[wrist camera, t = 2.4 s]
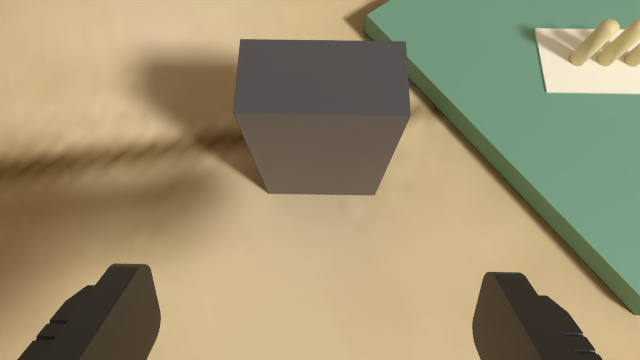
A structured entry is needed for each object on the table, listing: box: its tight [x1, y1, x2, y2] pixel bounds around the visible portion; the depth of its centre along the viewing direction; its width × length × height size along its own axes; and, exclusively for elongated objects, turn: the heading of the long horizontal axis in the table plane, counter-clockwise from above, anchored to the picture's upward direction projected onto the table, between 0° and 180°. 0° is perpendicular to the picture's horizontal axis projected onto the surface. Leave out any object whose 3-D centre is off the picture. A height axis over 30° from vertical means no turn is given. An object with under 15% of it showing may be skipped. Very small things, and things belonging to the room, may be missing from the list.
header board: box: [364, 0, 640, 315], centre depth 23 cm, size 22×18×4 cm
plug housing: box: [233, 39, 411, 195], centre depth 18 cm, size 3×6×10 cm, turn 89°
